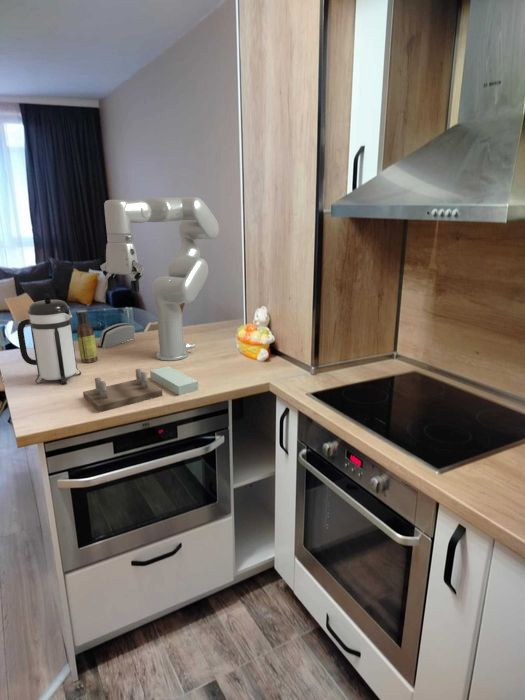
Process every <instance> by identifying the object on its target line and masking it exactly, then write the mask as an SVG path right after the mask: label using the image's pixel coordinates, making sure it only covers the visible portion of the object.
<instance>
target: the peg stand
mask: <svg viewBox="0 0 525 700" xmlns="http://www.w3.org/2000/svg"><path fill="white" fill-rule="evenodd" d="M147 373H148V372H146V371H142V369H141V368H136V369H135V379H133V380H128V381H125V382H124V381H123V382H119V383H115V384H111V385H107V382H106V381H105V380H102V377H95V378H94V383H95V388H94V389H90V390H86V391H85V390H84V391H83V392H82V395H83V399H84V400H85V401H87V402H88V404H90V406H92V408H94V409H95V410H96V411H97V412H98V413H103V412H105V411H110V410H114V409H117V408H121V407H125V405H126V406H128V405H132V404H136V402H137V403H141V402H144V400H145V401H147V400H151V398H152V399H155V398H159V396H160V397H163V389H162V388H161V387H159V386H157V385H155V384H154V383H153V382H151V381H149V380H148V375H147ZM140 401H141V402H140Z"/></svg>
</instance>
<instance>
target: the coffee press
mask: <svg viewBox="0 0 525 700" xmlns="http://www.w3.org/2000/svg"><path fill="white" fill-rule="evenodd" d="M42 297H43V300H38V301H35V302H33V303H32V304H30V305H29V307H28V310H27V314H28V315H29V316H28V317H29V318H28V319H24V320H23V319H22V321H20V322H19V323H18V325H17V329H16V330H17V331H16V332H17V333H16V334H17V339H18V346H19V350H20V351H19V352H20V355H21V357H22V359H23V361H24V362H25V363H26V364H29V365H31V366H36V368H37V370H36V371H37V377H36V378H35V379H34V381H35V383H36V384H38V385H40V384H41V383H42V382H43V381H44V380H47V381H58V380H60V382H61V385H62V386H64V385H67V384H68V383H67V379H68V378H70V377H72V376H74V375H76V376H81V375H82V371H79V368H78V365H77V360H76V358H77V357H76V349H75V345H74V344H75V343H74V337H73V336H74V335H73V329H72V327H73V326H72V318H73V314H72V313H71V310H70V308H71V307H70V306H69V305H68V304H67V303H66V302H65V300H61V299H51V297H52V296H51V294H50V293H47V292H46V293H44V294H43V296H42ZM27 325H30V331H31V332H30V333H31V338H32V344H33V351H34V355H35V356H34V357H35V359H33V358H31V357H30V356H29V354H28V350H27V345H26V339H25V332H24V331H25V330H24V329H25V327H26V326H27ZM77 370H78V371H79V373H77ZM39 377H40V378H41V379H40V380H39ZM38 380H39V381H38ZM37 381H38V382H37ZM39 383H40V384H39Z"/></svg>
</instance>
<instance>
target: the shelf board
mask: <svg viewBox="0 0 525 700" xmlns="http://www.w3.org/2000/svg"><path fill="white" fill-rule="evenodd" d="M149 373H150V379H151V380H152V379H153V381H154V382H155V383H157V382H158V383H157V384H159V385H161V386H162V385H163V387H164V388H165V389H167V388H168V389H167V390H169V391H171V392H172V393H174V394H175V395H177V394H178V396H179V395H180V396H182V394H183V395H187V394H191V393H193V392H197V390H198V391H199V381H198V380H196V379H194V378H193V377H190V376H188V375H187V374H185V373H183V372H181V371H180V370H177V369H175V368H173V367H172V366H169V365H167V366H164V367H162V366H161V367H159V368H154V369H153V368H152V369H150V371H149ZM186 393H187V394H186Z"/></svg>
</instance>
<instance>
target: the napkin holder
mask: <svg viewBox="0 0 525 700" xmlns="http://www.w3.org/2000/svg"><path fill="white" fill-rule="evenodd" d="M135 329H136V328H135V327H134V325H132V324H129V323H125V322H123V323H121V322H120V323H116V324H113V325H111V326H108V327H106V328H104V329H103V330H102V331H101V335H100V339H99V342H97V343H96V348H97V347H101V348H102V349H104V348H105V349H108V348H111V347H114V346H113V345H115V346H117V345H116V344H118V345H120V344H119V343H122V342H125V341H127V340H130V339H134V340H135V332H136V331H135ZM125 343H126V342H125ZM122 344H123V343H122ZM110 346H111V347H110ZM107 347H108V348H107Z"/></svg>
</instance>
